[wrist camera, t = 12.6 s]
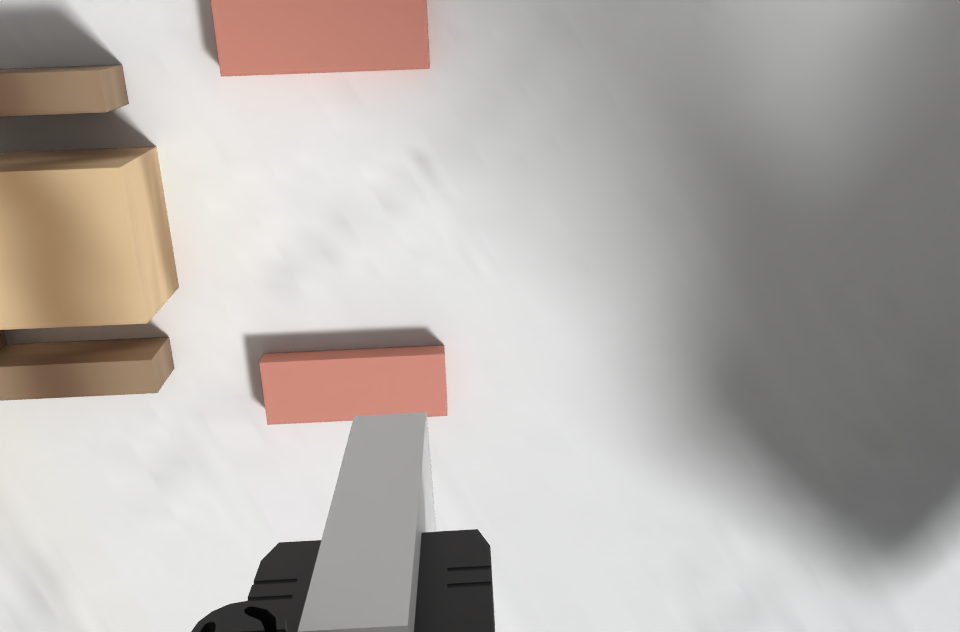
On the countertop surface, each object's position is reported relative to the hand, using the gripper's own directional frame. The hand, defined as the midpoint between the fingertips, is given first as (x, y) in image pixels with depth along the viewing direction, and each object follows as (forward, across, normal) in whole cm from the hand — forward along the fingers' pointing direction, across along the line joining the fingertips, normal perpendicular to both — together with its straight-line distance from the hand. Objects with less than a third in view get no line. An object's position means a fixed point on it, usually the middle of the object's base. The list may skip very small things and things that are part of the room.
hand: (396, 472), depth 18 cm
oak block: (+20, +14, -2) cm, 24 cm away
